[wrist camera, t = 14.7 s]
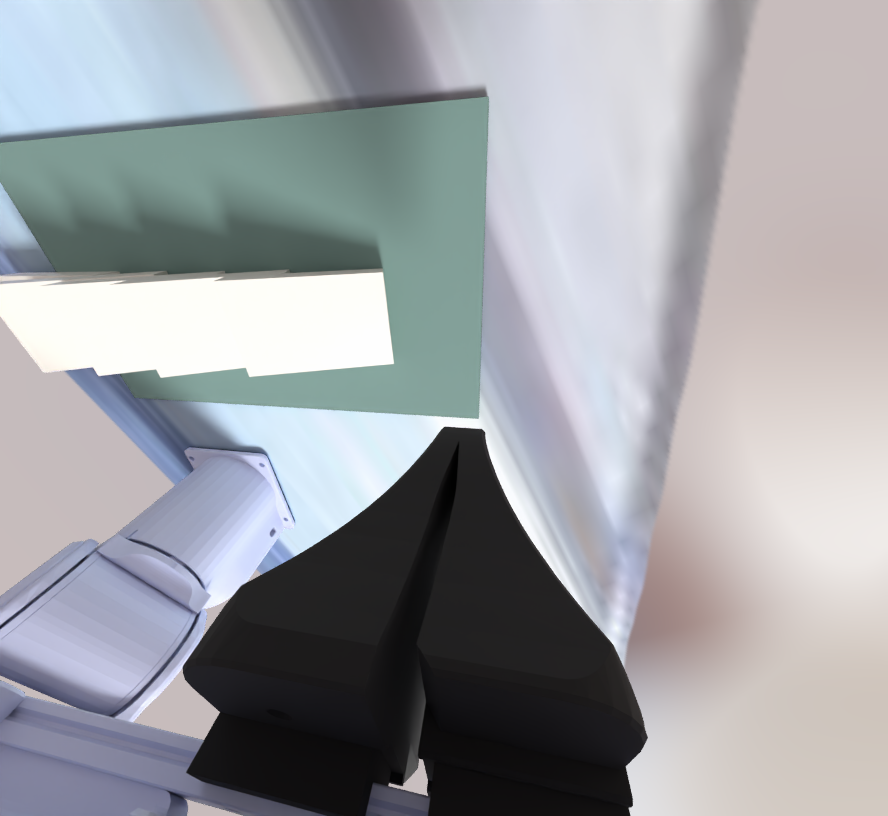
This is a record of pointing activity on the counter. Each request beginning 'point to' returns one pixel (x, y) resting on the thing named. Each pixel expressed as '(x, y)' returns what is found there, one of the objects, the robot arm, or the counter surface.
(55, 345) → the domino
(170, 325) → the domino
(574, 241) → the counter surface
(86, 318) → the domino
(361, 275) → the domino
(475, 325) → the mat
